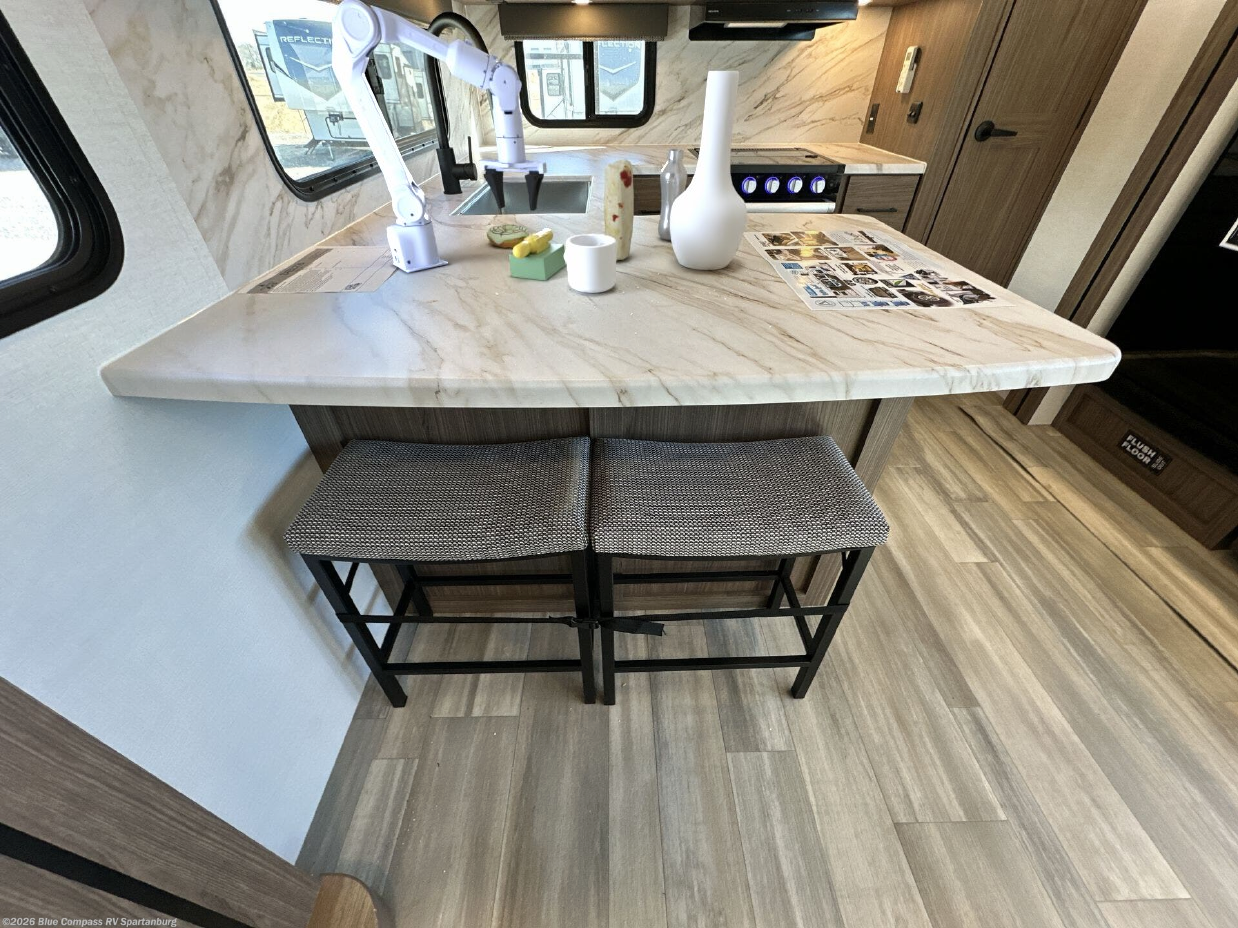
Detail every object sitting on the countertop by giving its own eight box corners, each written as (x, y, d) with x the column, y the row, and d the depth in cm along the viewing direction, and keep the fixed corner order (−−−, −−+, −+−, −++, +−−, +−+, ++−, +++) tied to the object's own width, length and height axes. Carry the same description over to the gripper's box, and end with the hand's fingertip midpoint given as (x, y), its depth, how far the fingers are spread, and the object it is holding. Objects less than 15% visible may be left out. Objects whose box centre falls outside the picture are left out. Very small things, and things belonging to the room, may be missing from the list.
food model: (632, 264, 116) (634, 163, 103) (603, 263, 116) (602, 163, 103) (632, 251, 123) (635, 156, 111) (605, 251, 123) (604, 156, 111)
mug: (582, 273, 110) (580, 228, 104) (626, 279, 107) (627, 233, 101) (557, 291, 101) (554, 243, 95) (605, 298, 98) (604, 249, 93)
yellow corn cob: (526, 261, 102) (525, 245, 100) (510, 259, 103) (508, 243, 101) (558, 240, 114) (558, 226, 112) (543, 239, 115) (542, 225, 113)
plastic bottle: (683, 242, 130) (691, 152, 117) (657, 242, 130) (662, 151, 117) (682, 236, 135) (688, 148, 122) (656, 236, 135) (660, 148, 122)
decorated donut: (496, 251, 122) (494, 235, 120) (483, 241, 130) (480, 225, 127) (536, 245, 126) (535, 229, 124) (521, 236, 134) (519, 220, 131)
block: (545, 280, 106) (543, 258, 103) (511, 276, 108) (508, 254, 105) (565, 265, 114) (564, 244, 112) (533, 262, 116) (531, 241, 113)
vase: (659, 253, 122) (670, 70, 100) (725, 251, 124) (749, 71, 102) (677, 276, 109) (693, 71, 87) (750, 272, 111) (784, 71, 90)
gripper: (468, 137, 103) (479, 210, 111) (535, 140, 100) (541, 214, 108) (484, 134, 108) (493, 204, 116) (547, 136, 105) (552, 208, 114)
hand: (517, 209), depth 113 cm, fingers open, 7 cm apart
